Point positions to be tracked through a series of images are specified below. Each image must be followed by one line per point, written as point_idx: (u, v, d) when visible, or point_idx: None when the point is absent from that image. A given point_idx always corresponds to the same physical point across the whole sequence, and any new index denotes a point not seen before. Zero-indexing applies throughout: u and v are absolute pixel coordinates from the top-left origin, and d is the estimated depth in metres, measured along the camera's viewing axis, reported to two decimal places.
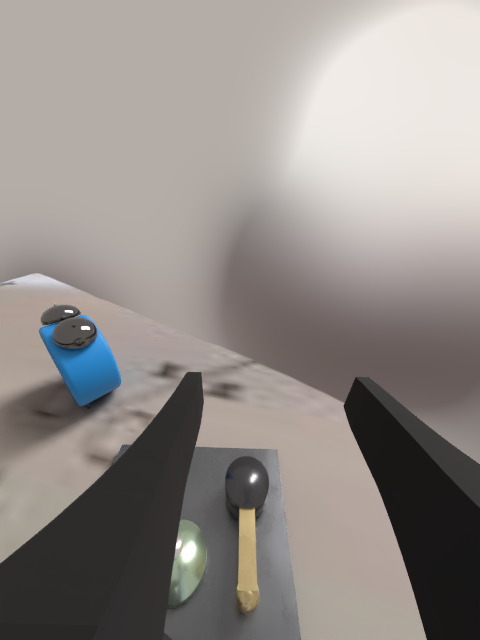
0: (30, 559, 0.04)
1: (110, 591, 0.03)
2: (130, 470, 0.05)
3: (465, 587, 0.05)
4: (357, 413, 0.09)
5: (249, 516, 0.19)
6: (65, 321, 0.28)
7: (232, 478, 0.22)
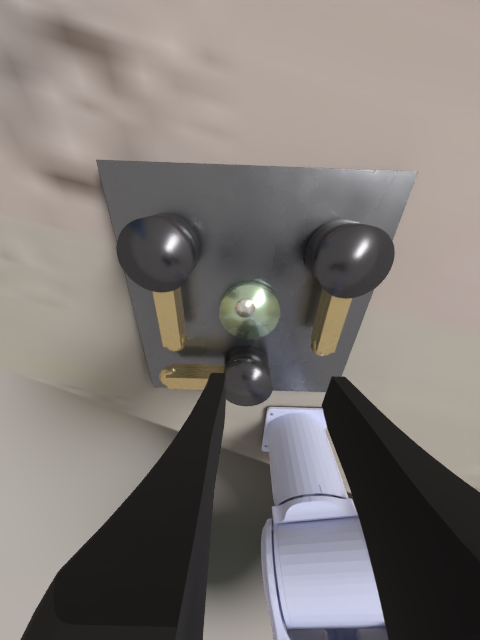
0: (93, 561, 0.04)
1: (180, 593, 0.03)
2: (173, 471, 0.05)
3: (419, 586, 0.05)
4: (332, 412, 0.09)
5: (343, 304, 0.15)
6: None
7: (330, 264, 0.13)
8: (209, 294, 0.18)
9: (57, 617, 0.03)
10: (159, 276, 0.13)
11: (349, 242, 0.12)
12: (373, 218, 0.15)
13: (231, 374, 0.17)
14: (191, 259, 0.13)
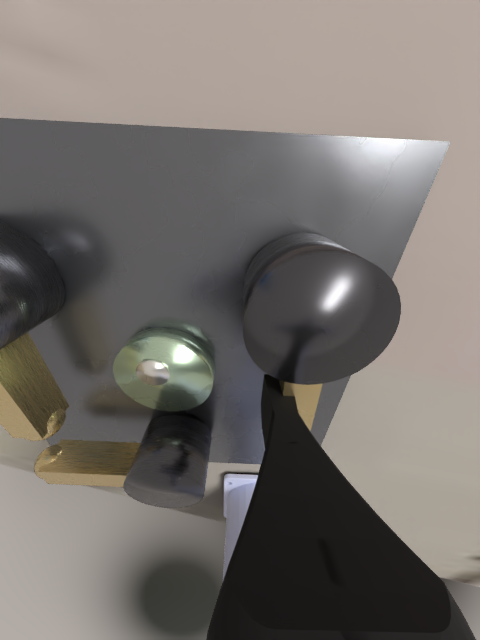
0: (255, 565, 0.04)
1: (357, 597, 0.03)
2: (283, 474, 0.05)
3: None
4: (263, 410, 0.09)
5: (308, 387, 0.08)
6: None
7: (267, 330, 0.06)
8: (101, 345, 0.11)
9: (254, 620, 0.03)
10: None
11: (299, 290, 0.06)
12: (361, 230, 0.08)
13: (133, 475, 0.11)
14: None
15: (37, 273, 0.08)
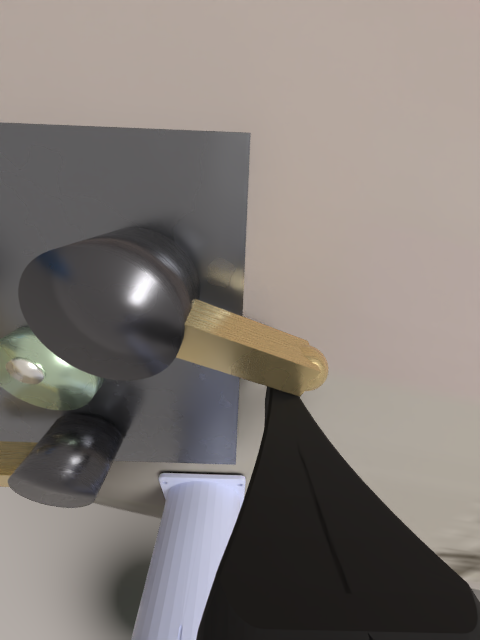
0: (246, 564, 0.04)
1: (347, 597, 0.03)
2: (277, 474, 0.05)
3: None
4: None
5: (201, 343, 0.07)
6: None
7: (99, 361, 0.07)
8: None
9: (244, 621, 0.03)
10: None
11: (56, 330, 0.06)
12: (196, 225, 0.08)
13: (13, 475, 0.11)
14: None
15: None
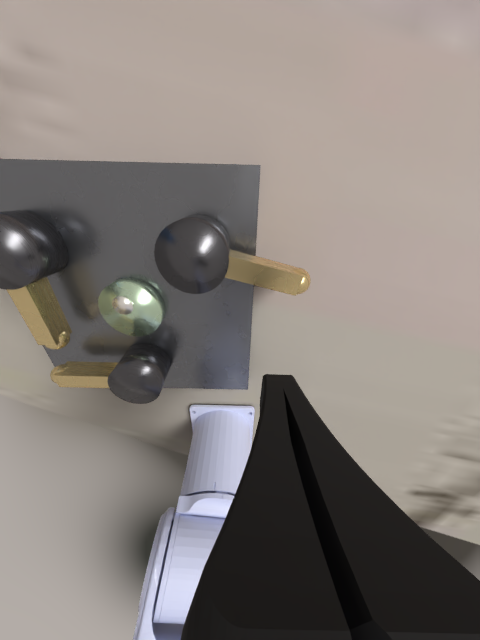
0: (232, 564, 0.04)
1: (331, 596, 0.03)
2: (267, 473, 0.05)
3: None
4: None
5: (237, 266, 0.13)
6: None
7: (188, 282, 0.13)
8: (91, 291, 0.18)
9: (226, 620, 0.03)
10: (2, 273, 0.13)
11: (169, 266, 0.13)
12: (230, 212, 0.15)
13: (113, 371, 0.17)
14: (27, 256, 0.13)
15: (53, 240, 0.15)
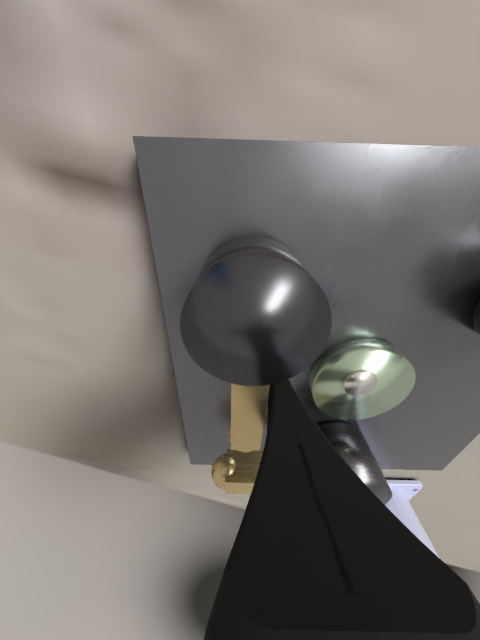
0: (253, 565, 0.04)
1: (355, 597, 0.03)
2: (282, 474, 0.05)
3: None
4: None
5: None
6: None
7: None
8: None
9: (252, 620, 0.03)
10: (256, 362, 0.07)
11: None
12: None
13: None
14: (327, 334, 0.06)
15: None
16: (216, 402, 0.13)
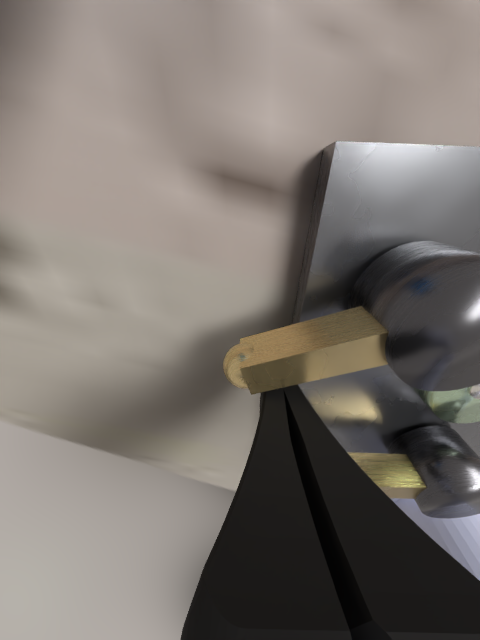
0: (232, 564, 0.04)
1: (331, 597, 0.03)
2: (267, 473, 0.05)
3: None
4: None
5: None
6: None
7: None
8: None
9: (226, 619, 0.03)
10: (430, 352, 0.07)
11: None
12: None
13: (457, 488, 0.11)
14: (457, 387, 0.07)
15: None
16: (319, 405, 0.13)
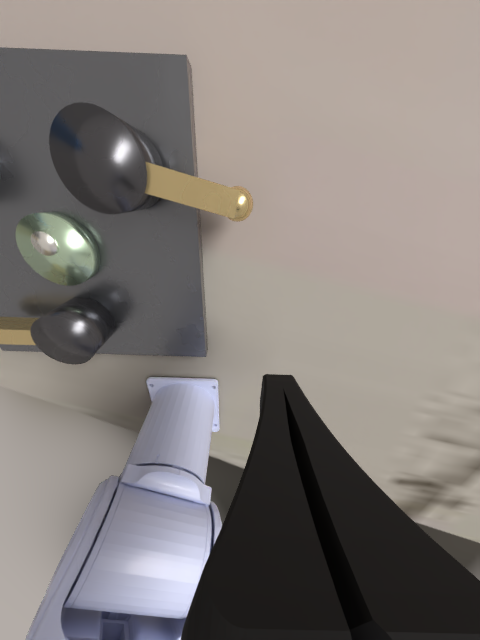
0: (232, 564, 0.04)
1: (331, 596, 0.03)
2: (267, 473, 0.05)
3: None
4: None
5: (158, 177, 0.11)
6: None
7: (100, 198, 0.11)
8: (11, 229, 0.15)
9: (226, 619, 0.03)
10: None
11: (72, 173, 0.11)
12: (158, 123, 0.12)
13: (34, 321, 0.15)
14: None
15: None
16: None
